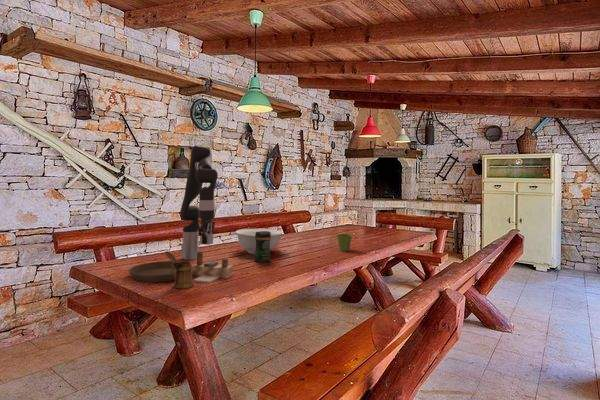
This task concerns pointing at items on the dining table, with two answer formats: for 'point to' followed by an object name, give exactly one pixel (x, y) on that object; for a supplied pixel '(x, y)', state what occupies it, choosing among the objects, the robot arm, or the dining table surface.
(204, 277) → the stone tile
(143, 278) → the plant saucer
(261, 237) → the coffee jar
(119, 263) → the dining table surface
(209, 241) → the lever cap
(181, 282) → the turkish coffee pot
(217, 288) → the dining table surface
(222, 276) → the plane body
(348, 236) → the plant pot
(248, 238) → the bowl
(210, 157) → the robot arm
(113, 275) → the dining table surface
